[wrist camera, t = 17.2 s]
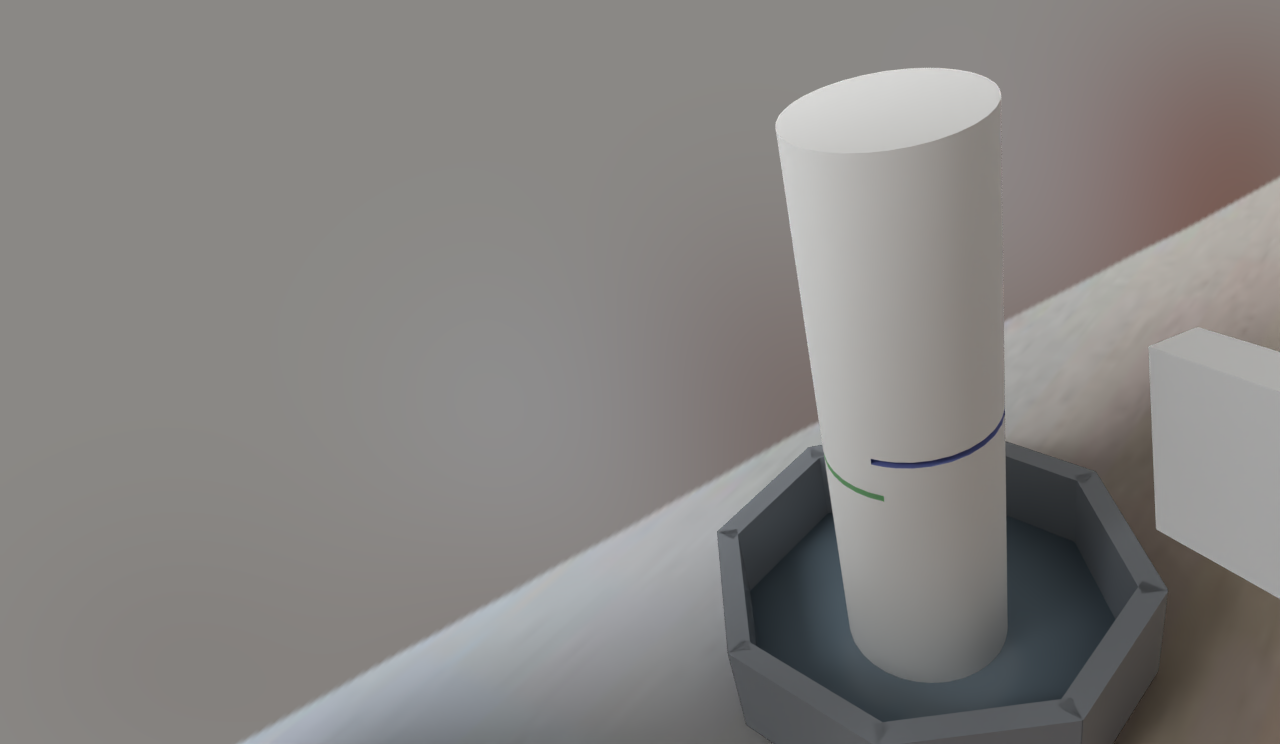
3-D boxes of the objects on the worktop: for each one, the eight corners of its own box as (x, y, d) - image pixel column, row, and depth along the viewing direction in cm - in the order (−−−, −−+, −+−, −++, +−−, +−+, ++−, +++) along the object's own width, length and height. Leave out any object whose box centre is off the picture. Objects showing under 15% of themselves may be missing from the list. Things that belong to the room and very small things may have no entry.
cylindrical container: (1001, 695, 40) (991, 144, 27) (835, 668, 43) (750, 160, 30) (1013, 572, 46) (1009, 58, 32) (863, 555, 49) (802, 78, 35)
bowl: (757, 835, 39) (737, 764, 36) (726, 530, 54) (711, 463, 51) (1220, 781, 37) (1235, 701, 34) (1053, 478, 52) (1055, 405, 49)
